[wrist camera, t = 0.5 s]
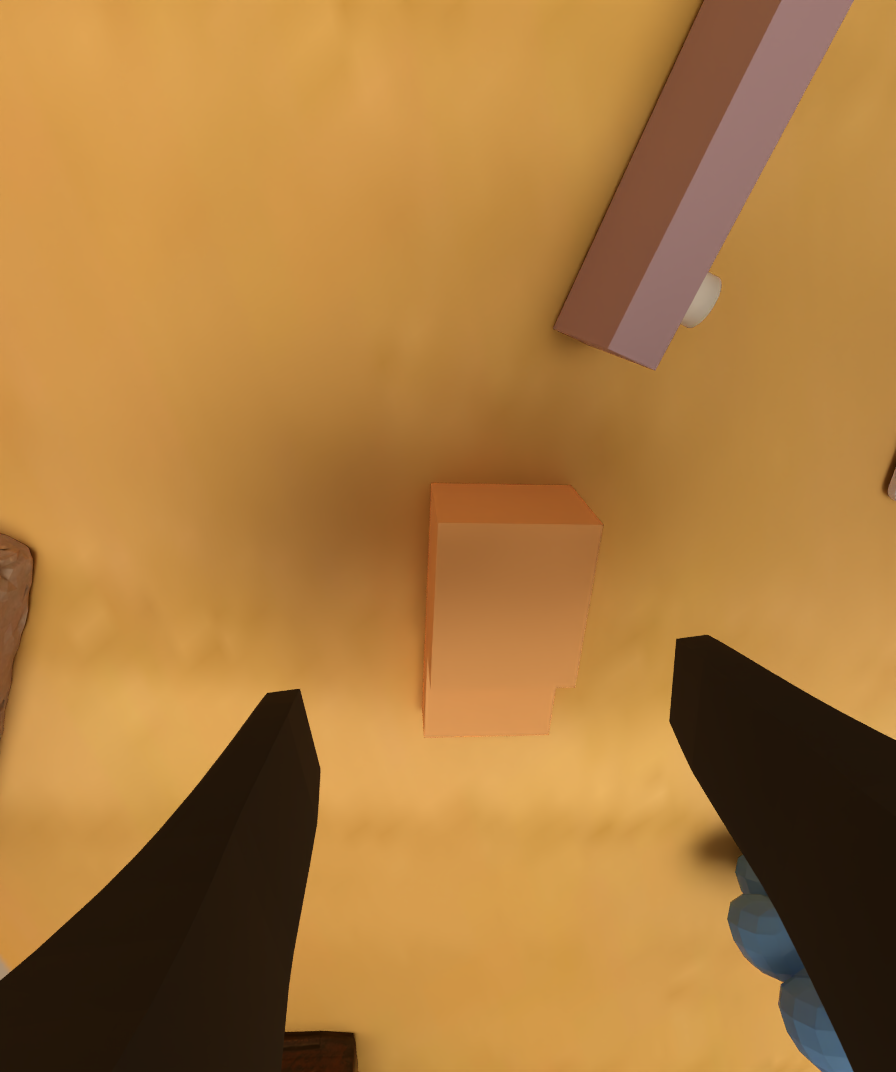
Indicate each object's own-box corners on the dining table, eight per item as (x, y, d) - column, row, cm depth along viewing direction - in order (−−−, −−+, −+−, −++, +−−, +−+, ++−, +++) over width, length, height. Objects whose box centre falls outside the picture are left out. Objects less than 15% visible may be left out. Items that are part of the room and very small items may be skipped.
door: (862, -343, 12) (1118, -676, 7) (941, -271, 12) (1222, -547, 8) (553, 328, 16) (607, 348, 12) (619, 359, 17) (693, 388, 13)
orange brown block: (568, 482, 19) (603, 524, 16) (537, 701, 23) (560, 771, 20) (430, 479, 19) (438, 522, 15) (421, 703, 22) (426, 775, 19)
